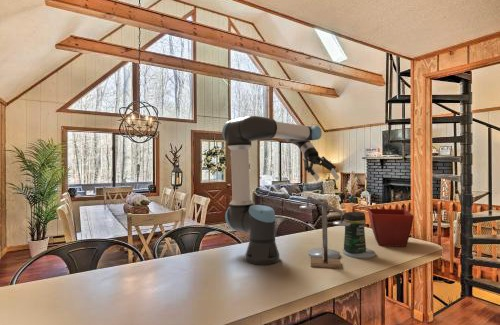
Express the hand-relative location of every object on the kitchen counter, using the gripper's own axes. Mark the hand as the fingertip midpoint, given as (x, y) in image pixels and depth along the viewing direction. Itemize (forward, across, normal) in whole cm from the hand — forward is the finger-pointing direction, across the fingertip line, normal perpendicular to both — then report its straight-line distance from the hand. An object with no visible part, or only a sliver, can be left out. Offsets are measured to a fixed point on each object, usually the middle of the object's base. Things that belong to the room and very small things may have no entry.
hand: (328, 178), depth 148 cm
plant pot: (+34, -30, -15) cm, 48 cm away
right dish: (+37, -2, -12) cm, 39 cm away
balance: (+40, +22, -9) cm, 47 cm away
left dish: (+33, +14, -16) cm, 39 cm away
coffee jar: (+36, 0, -11) cm, 38 cm away
